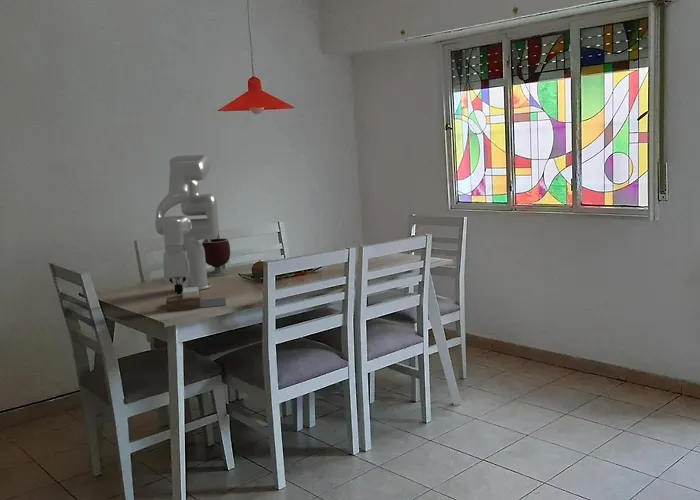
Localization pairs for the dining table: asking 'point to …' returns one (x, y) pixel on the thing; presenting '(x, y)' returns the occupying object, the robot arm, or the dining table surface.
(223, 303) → the mat
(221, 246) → the mate gourd
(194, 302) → the panel
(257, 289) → the dining table surface
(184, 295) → the tile
